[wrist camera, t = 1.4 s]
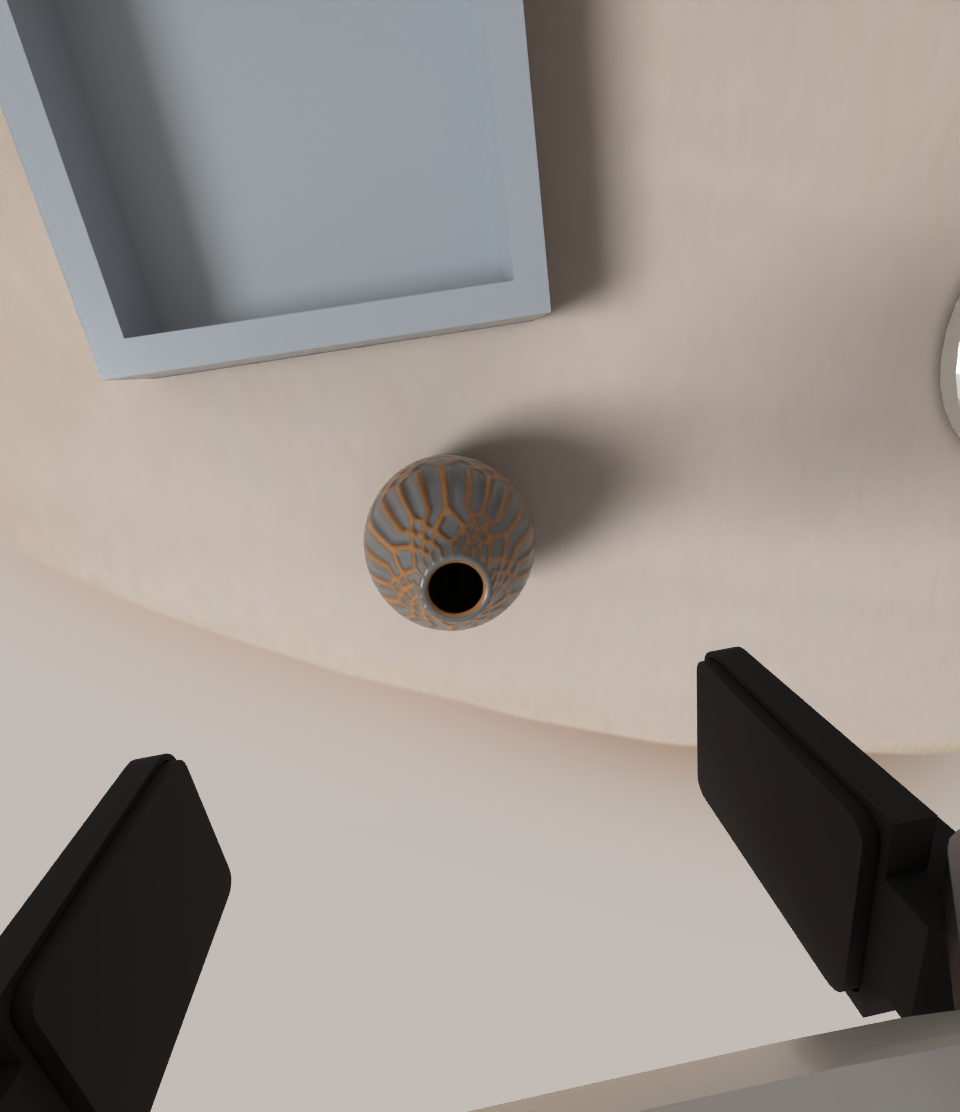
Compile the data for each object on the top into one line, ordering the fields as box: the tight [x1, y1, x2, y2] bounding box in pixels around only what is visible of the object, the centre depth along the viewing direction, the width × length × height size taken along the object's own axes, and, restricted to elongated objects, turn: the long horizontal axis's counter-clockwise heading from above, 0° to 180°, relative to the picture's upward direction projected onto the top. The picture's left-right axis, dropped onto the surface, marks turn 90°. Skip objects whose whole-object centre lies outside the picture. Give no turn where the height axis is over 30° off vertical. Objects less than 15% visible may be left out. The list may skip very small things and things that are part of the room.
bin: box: [0, 0, 551, 380], centre depth 18 cm, size 16×16×4 cm
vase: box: [364, 455, 535, 631], centre depth 21 cm, size 7×7×9 cm
